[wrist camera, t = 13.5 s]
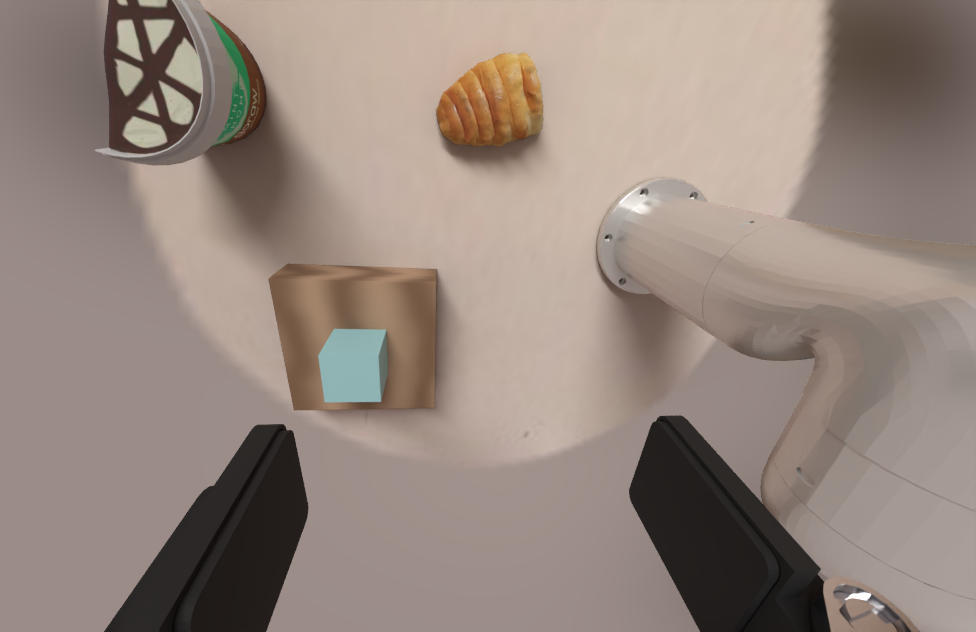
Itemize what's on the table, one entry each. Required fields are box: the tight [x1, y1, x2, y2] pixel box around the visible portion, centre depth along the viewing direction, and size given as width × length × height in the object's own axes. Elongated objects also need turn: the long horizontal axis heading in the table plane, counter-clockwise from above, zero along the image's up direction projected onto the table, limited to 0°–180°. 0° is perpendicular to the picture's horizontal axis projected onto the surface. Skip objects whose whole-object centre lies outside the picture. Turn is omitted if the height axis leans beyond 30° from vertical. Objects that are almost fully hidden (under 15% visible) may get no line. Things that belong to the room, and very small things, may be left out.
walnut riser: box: [269, 264, 437, 410], centre depth 38 cm, size 15×15×4 cm
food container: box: [95, 0, 266, 165], centre depth 26 cm, size 12×6×10 cm, turn 158°
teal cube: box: [318, 329, 388, 402], centre depth 34 cm, size 5×5×5 cm
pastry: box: [436, 53, 543, 147], centre depth 31 cm, size 9×7×4 cm
